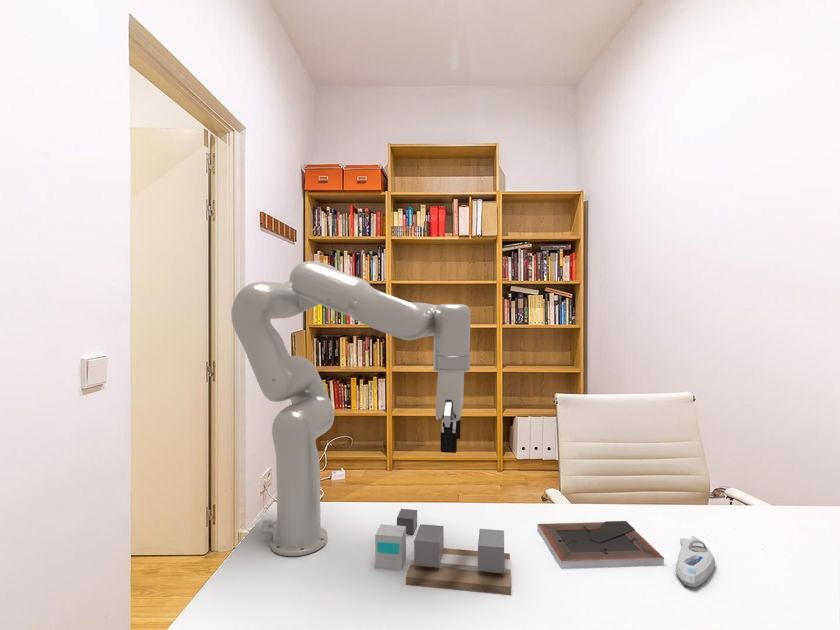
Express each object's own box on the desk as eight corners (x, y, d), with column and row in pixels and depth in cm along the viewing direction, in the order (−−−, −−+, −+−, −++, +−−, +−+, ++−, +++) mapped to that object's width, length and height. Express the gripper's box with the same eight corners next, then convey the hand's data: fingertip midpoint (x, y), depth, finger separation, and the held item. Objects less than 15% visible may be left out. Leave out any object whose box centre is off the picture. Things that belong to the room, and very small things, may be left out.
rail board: (405, 584, 93) (405, 571, 93) (416, 552, 105) (416, 541, 105) (511, 594, 90) (511, 581, 90) (509, 560, 101) (509, 548, 101)
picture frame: (625, 530, 116) (537, 533, 115) (626, 520, 116) (537, 522, 115) (664, 568, 99) (561, 572, 98) (664, 556, 99) (561, 560, 98)
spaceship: (714, 599, 88) (714, 575, 88) (673, 588, 92) (673, 565, 92) (714, 545, 108) (714, 525, 108) (681, 537, 112) (681, 518, 112)
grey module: (375, 569, 99) (374, 535, 98) (381, 556, 103) (380, 524, 103) (401, 571, 98) (401, 537, 97) (406, 558, 102) (406, 526, 102)
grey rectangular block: (396, 534, 113) (396, 517, 113) (401, 524, 118) (401, 508, 118) (413, 536, 113) (413, 519, 112) (417, 526, 117) (417, 509, 117)
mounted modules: (414, 565, 95) (414, 540, 95) (420, 547, 102) (420, 524, 102) (504, 573, 92) (504, 547, 92) (504, 554, 99) (504, 530, 99)
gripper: (438, 358, 109) (437, 432, 110) (427, 368, 92) (427, 457, 93) (471, 358, 108) (471, 434, 109) (467, 369, 91) (466, 459, 91)
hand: (450, 444), depth 101 cm, fingers open, 9 cm apart
